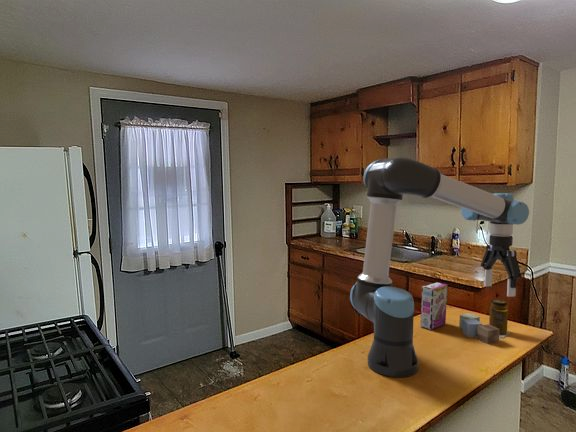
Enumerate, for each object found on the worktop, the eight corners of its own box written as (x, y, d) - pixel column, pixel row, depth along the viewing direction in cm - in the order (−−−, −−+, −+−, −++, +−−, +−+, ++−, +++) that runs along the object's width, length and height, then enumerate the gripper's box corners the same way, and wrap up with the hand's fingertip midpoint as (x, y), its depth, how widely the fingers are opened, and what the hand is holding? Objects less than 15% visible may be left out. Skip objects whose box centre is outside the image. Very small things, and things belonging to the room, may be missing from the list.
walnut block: (487, 344, 136) (488, 330, 135) (476, 339, 141) (477, 325, 140) (499, 342, 137) (499, 329, 137) (488, 337, 142) (488, 324, 142)
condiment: (510, 332, 147) (512, 301, 146) (503, 338, 141) (504, 306, 140) (490, 327, 152) (491, 297, 151) (482, 332, 146) (483, 301, 145)
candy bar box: (431, 331, 148) (433, 289, 147) (420, 327, 152) (421, 286, 150) (446, 324, 155) (448, 284, 154) (435, 320, 159) (436, 281, 158)
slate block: (468, 337, 142) (468, 324, 142) (462, 332, 147) (462, 319, 147) (481, 337, 142) (482, 324, 142) (475, 332, 147) (475, 319, 147)
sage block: (470, 331, 147) (470, 319, 147) (459, 327, 152) (459, 315, 152) (479, 329, 150) (479, 317, 149) (468, 325, 154) (468, 313, 154)
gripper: (535, 239, 131) (532, 300, 133) (489, 230, 156) (488, 282, 158) (514, 240, 131) (512, 301, 133) (472, 230, 155) (470, 282, 157)
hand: (499, 291), depth 145 cm, fingers open, 13 cm apart
